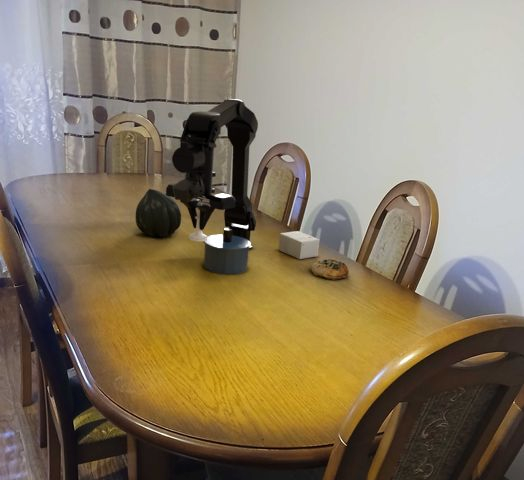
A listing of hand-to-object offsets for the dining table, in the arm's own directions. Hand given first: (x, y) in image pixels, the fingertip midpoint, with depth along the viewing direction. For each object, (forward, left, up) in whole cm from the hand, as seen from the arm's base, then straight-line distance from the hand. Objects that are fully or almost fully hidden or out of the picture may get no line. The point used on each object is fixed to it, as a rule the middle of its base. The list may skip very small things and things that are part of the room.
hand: (198, 228), depth 148 cm
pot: (-11, -2, -12) cm, 17 cm away
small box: (-40, -9, -10) cm, 42 cm away
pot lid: (-11, -2, -6) cm, 12 cm away
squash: (-9, -37, -13) cm, 40 cm away
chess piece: (0, 0, -3) cm, 3 cm away
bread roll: (-36, +15, -13) cm, 41 cm away
